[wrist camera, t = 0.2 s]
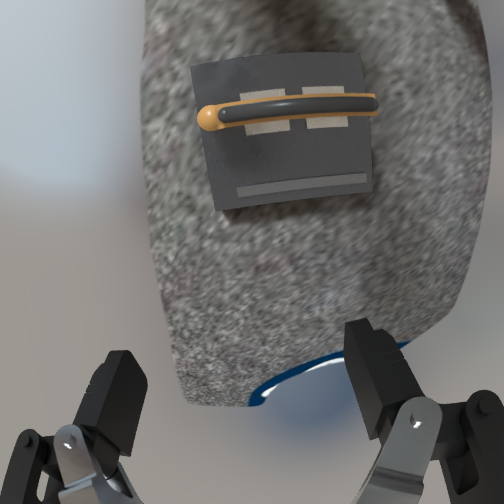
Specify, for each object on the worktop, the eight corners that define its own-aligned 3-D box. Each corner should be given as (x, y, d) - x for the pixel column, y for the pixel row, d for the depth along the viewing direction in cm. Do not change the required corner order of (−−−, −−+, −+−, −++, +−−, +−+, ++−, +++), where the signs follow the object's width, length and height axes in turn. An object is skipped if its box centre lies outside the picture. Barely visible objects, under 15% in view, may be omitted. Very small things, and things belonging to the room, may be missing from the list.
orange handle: (203, 110, 28) (192, 107, 22) (356, 95, 28) (381, 91, 22) (206, 131, 29) (197, 134, 23) (358, 116, 29) (384, 117, 23)
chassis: (194, 70, 29) (189, 66, 26) (351, 57, 28) (360, 52, 25) (217, 204, 37) (215, 212, 34) (363, 186, 36) (373, 192, 33)
